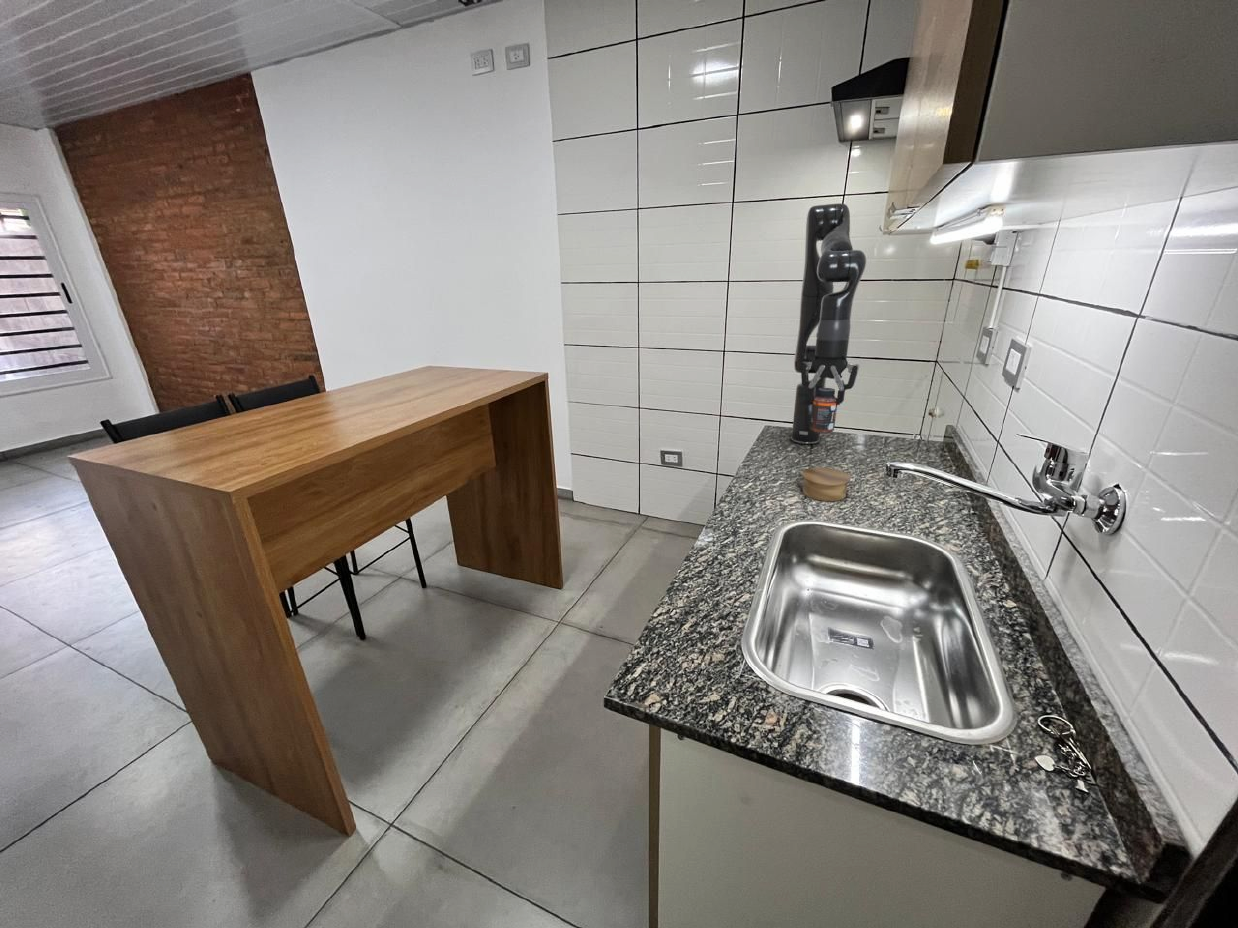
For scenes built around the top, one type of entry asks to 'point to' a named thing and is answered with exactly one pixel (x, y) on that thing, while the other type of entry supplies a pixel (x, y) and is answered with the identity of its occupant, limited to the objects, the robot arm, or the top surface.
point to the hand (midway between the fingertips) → (825, 403)
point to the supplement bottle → (824, 411)
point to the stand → (825, 483)
